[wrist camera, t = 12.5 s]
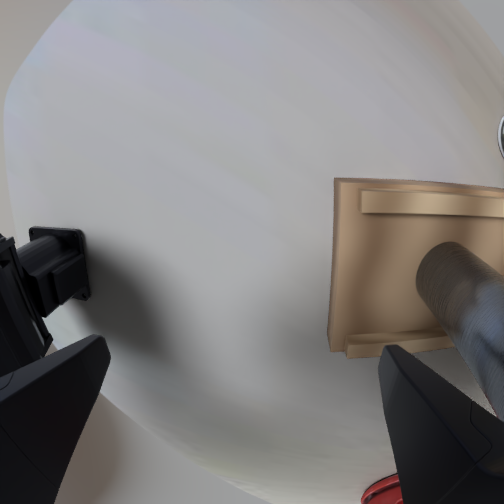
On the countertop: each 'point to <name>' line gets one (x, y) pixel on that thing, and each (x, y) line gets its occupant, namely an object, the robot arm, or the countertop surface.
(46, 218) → the countertop surface
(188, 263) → the countertop surface
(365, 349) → the stand
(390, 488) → the plant pot
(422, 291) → the slim bottle
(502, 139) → the supplement bottle
